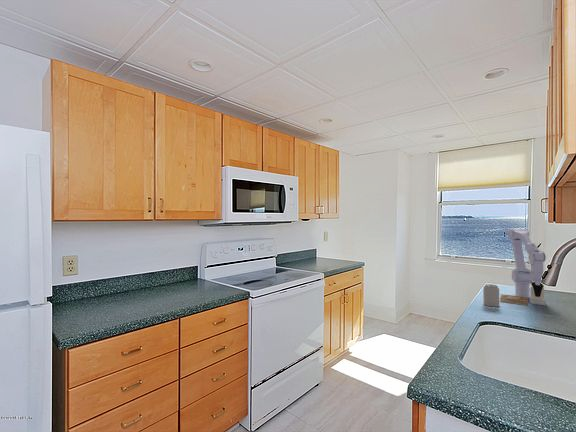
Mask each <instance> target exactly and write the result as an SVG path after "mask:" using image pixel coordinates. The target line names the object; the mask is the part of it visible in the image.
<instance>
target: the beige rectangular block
mask: <svg viewBox="0 0 576 432" xmlns="http://www.w3.org/2000/svg"><path fill="white" fill-rule="evenodd" d="M530 297H531V299H535V300H543V301H544V299H545V288H544V287H543V289H542V291H541V296H540V297H535V293H534V289H533V287H532V286H530Z"/></svg>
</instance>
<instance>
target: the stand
mask: <svg viewBox="0 0 576 432" xmlns="http://www.w3.org/2000/svg"><path fill="white" fill-rule="evenodd" d="M546 301H547V300H546V299H545V298H544V301H543V300H535V299H531V298H529V304H532V305H540V306H546V304H547V303H546Z"/></svg>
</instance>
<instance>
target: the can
mask: <svg viewBox="0 0 576 432" xmlns="http://www.w3.org/2000/svg"><path fill="white" fill-rule="evenodd" d="M482 289H483V291H482V292H483V295H482V296H483V305H485V306H486V307H488V308H498V307H500V288H499V287H498V285H497V284H493V283H492V284H489V283H485V284H484V286H483V288H482Z"/></svg>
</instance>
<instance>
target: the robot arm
mask: <svg viewBox="0 0 576 432" xmlns="http://www.w3.org/2000/svg"><path fill="white" fill-rule="evenodd" d="M507 235H508V240H509V242H510V243H511V246H512V251H513V257H514V263H515V268H513V269H512V270H511V280H512V281H513V282H514V283H515V286H514V287H515V290H514V291H515V293H514V296H521V297H528V299H530V298H531V287H533V289H534V293H535V297H540V296H541V291H542V289H543V288H544V287H545V285H544V283H543V284H541V283H540V282H541V278H542V274H543V272H544V263H545V261H546V258H547V257H546V256H547V255H546V253H545V252H544V251H542V250H540V249H539V247H538V246H537V245H536V243H535V242H532V240H531V239H530V231H529V229H528V228H511V227H510V228H509V230H508V232H507ZM522 244H524V250H526V253H527V254H528V259H529V264H530V269H529V268H527V267H526V261H525V256H524V250H523V245H522ZM544 273H545V272H544Z"/></svg>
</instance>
